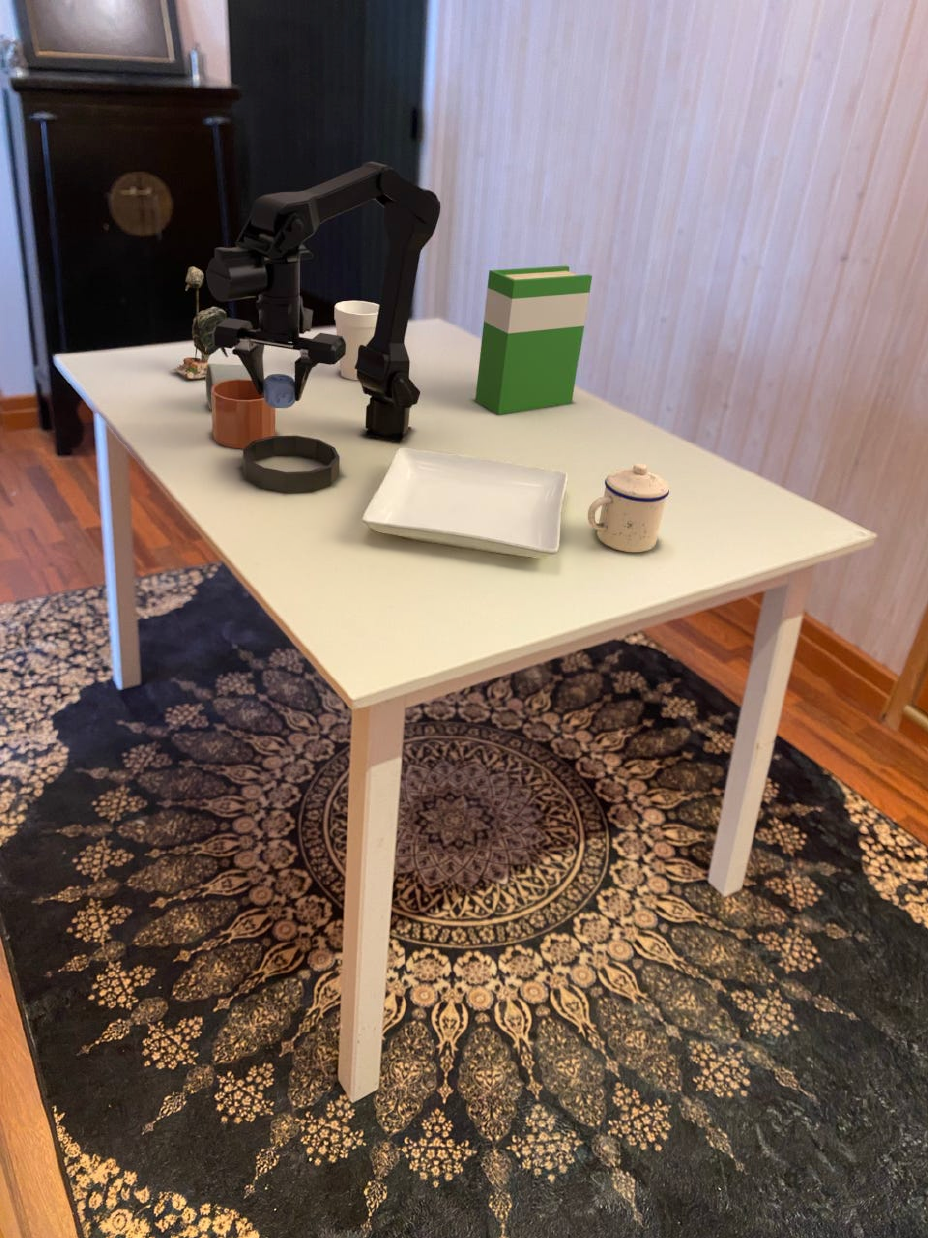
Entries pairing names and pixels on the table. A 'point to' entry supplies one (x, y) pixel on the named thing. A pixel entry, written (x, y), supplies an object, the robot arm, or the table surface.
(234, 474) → the table surface
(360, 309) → the foam cup
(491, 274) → the hardback book
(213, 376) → the ceramic mug
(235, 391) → the terracotta cup
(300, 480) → the dark grey ring
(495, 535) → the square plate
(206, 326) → the plant with pod
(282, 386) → the decorative dice
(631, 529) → the teacup with lid
